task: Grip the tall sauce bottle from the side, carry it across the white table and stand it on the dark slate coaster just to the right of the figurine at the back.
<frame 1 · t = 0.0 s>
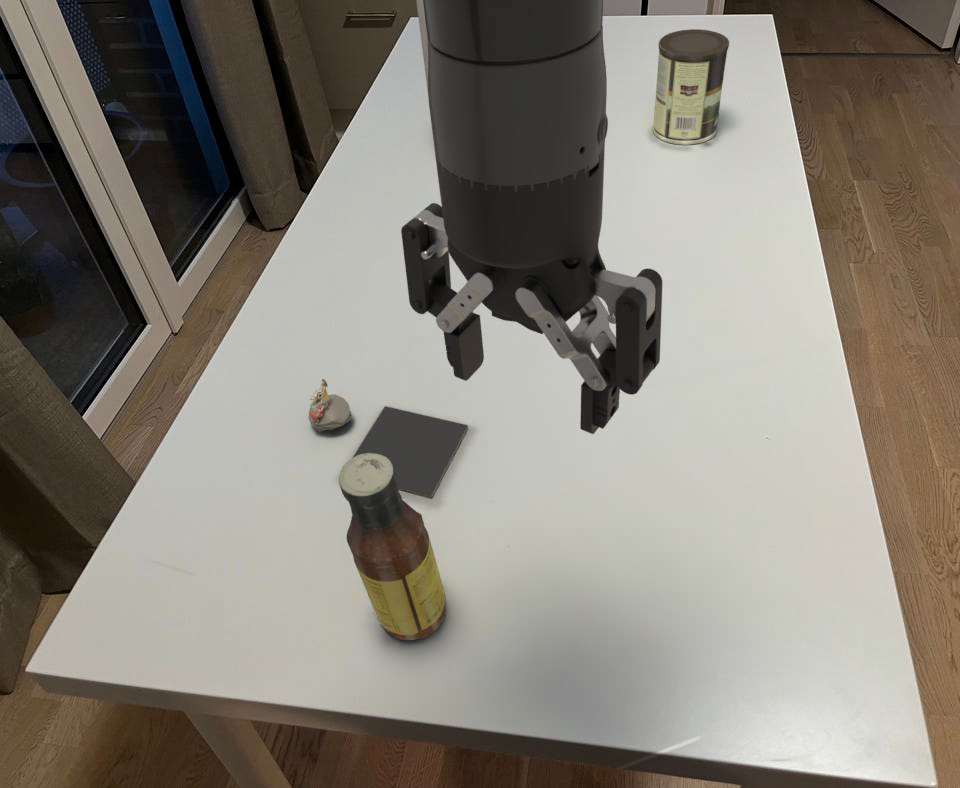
hand: (530, 396, 46), 30 cm above the table, tool pointing down, fingers open, 8 cm apart
sauce bottle: (411, 614, 71), on the table
figurine: (331, 424, 88), on the table
supplement bottle: (530, 63, 153), on the table
coffee can: (683, 131, 129), on the table
cylinder vase: (473, 149, 130), on the table
slate coaster: (407, 451, 84), on the table
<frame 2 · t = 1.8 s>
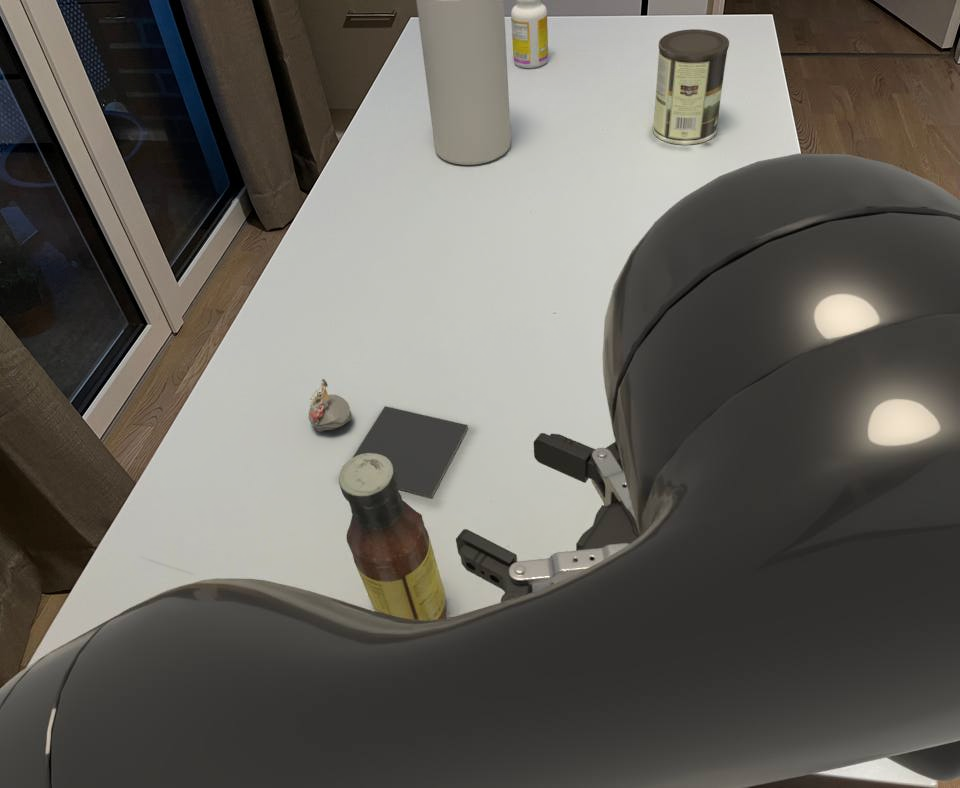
hand: (500, 491, 48), 24 cm above the table, tool horizontal, fingers open, 8 cm apart
nothing on the table moved.
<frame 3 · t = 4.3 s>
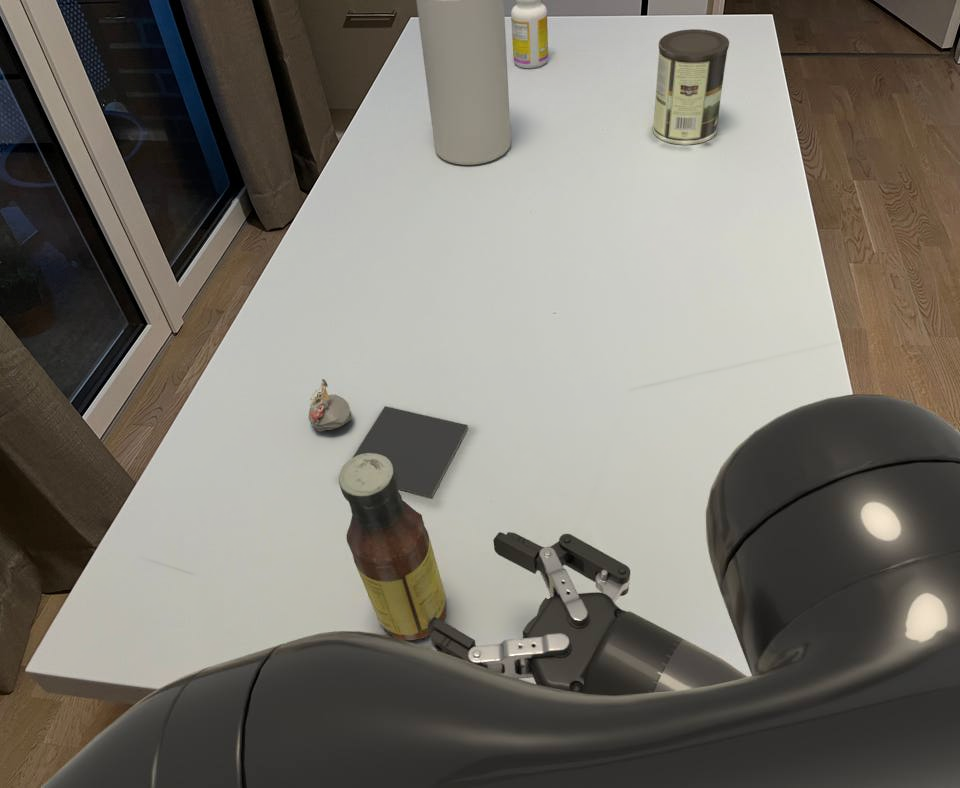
hand: (464, 582, 60), 11 cm above the table, tool horizontal, fingers open, 8 cm apart
nothing on the table moved.
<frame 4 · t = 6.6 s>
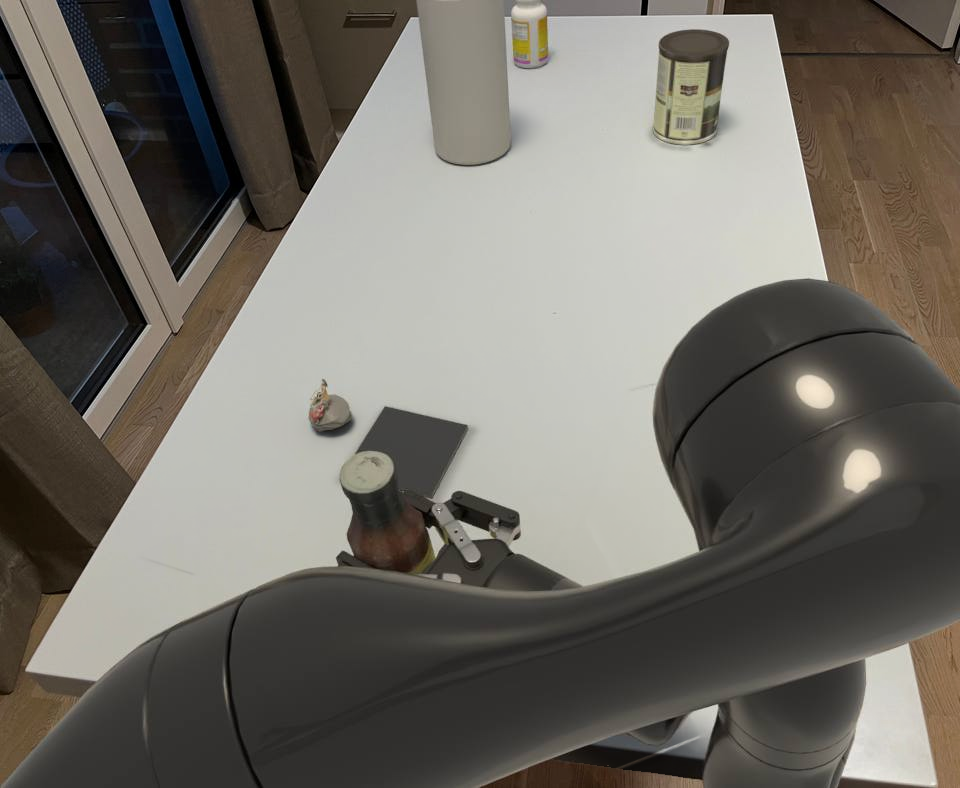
hand: (368, 529, 64), 11 cm above the table, tool horizontal, fingers closed on sauce bottle, 6 cm apart
sauce bottle: (411, 614, 70), on the table, touching gripper
everything else where it was.
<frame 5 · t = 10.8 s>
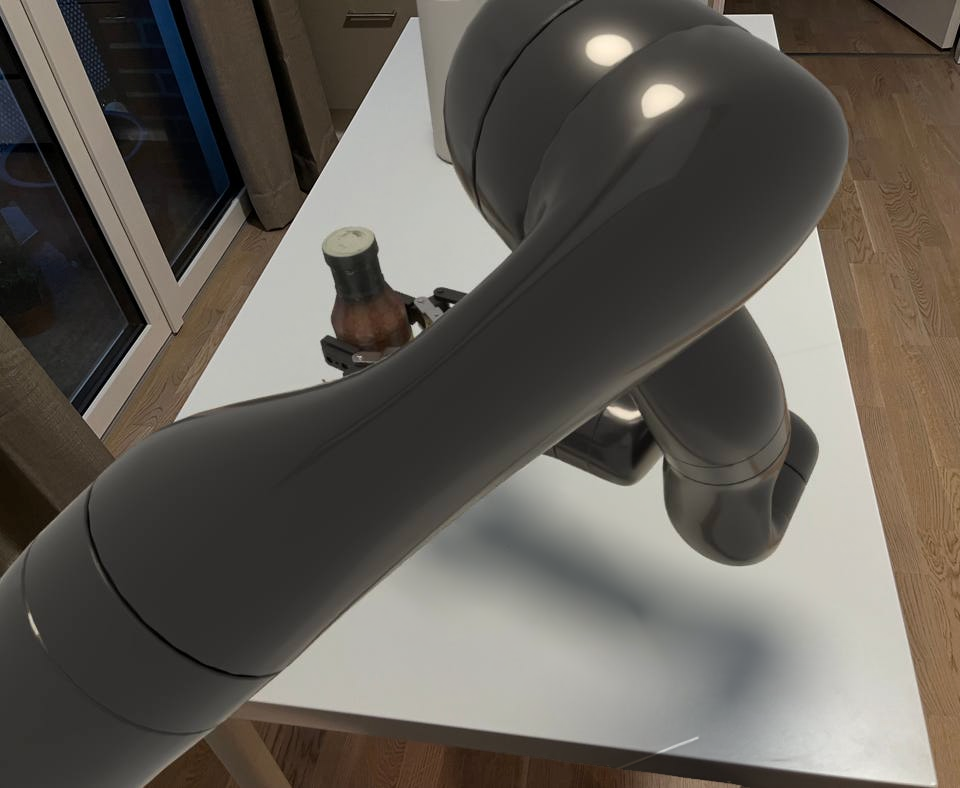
hand: (353, 322, 65), 22 cm above the table, tool horizontal, fingers closed on sauce bottle, 6 cm apart
sauce bottle: (397, 425, 72), point 11 cm above the table, touching gripper
everything else where it was.
when the fingers open (12 cm above the table, at t = 15.0 s): sauce bottle stays where it is, resting on slate coaster.
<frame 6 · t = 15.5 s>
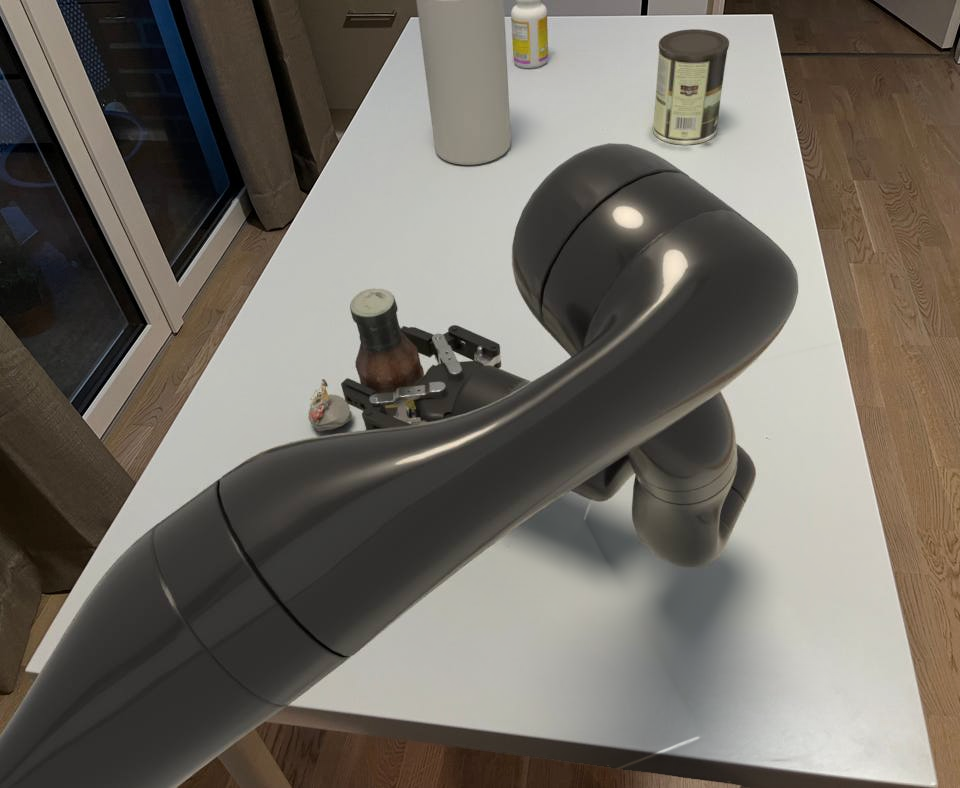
hand: (373, 360, 76), 12 cm above the table, tool horizontal, fingers open, 8 cm apart
sauce bottle: (408, 449, 84), resting on slate coaster
everything else where it was.
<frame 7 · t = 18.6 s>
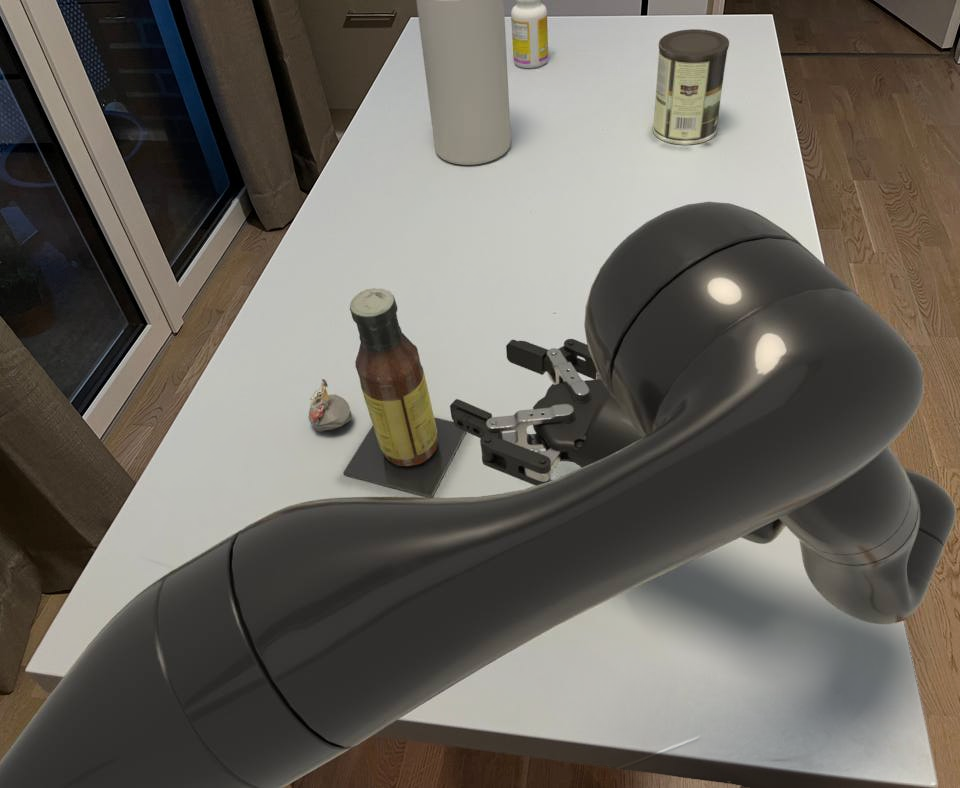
hand: (481, 378, 68), 16 cm above the table, tool horizontal, fingers open, 8 cm apart
nothing on the table moved.
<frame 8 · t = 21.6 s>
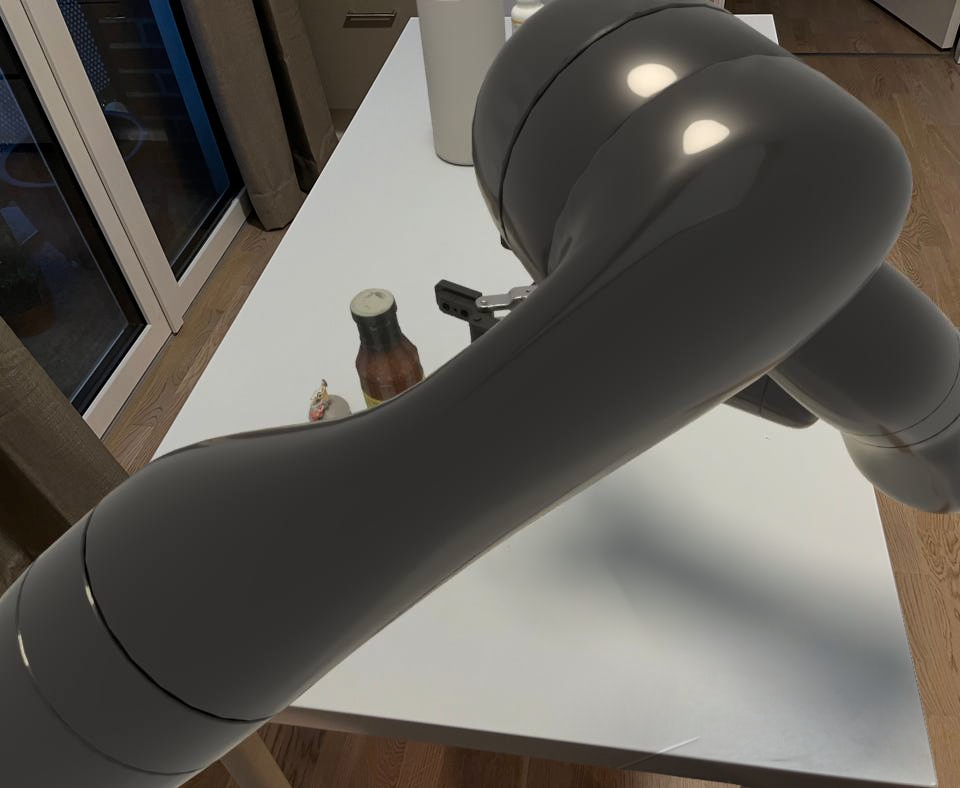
hand: (471, 261, 60), 28 cm above the table, tool horizontal, fingers open, 8 cm apart
nothing on the table moved.
at the end: sauce bottle inside the target area on the table beside the figurine (2.0 cm from its centre), point 0.5 cm above the table; sauce bottle tilted 0°; the gripper is holding nothing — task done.
